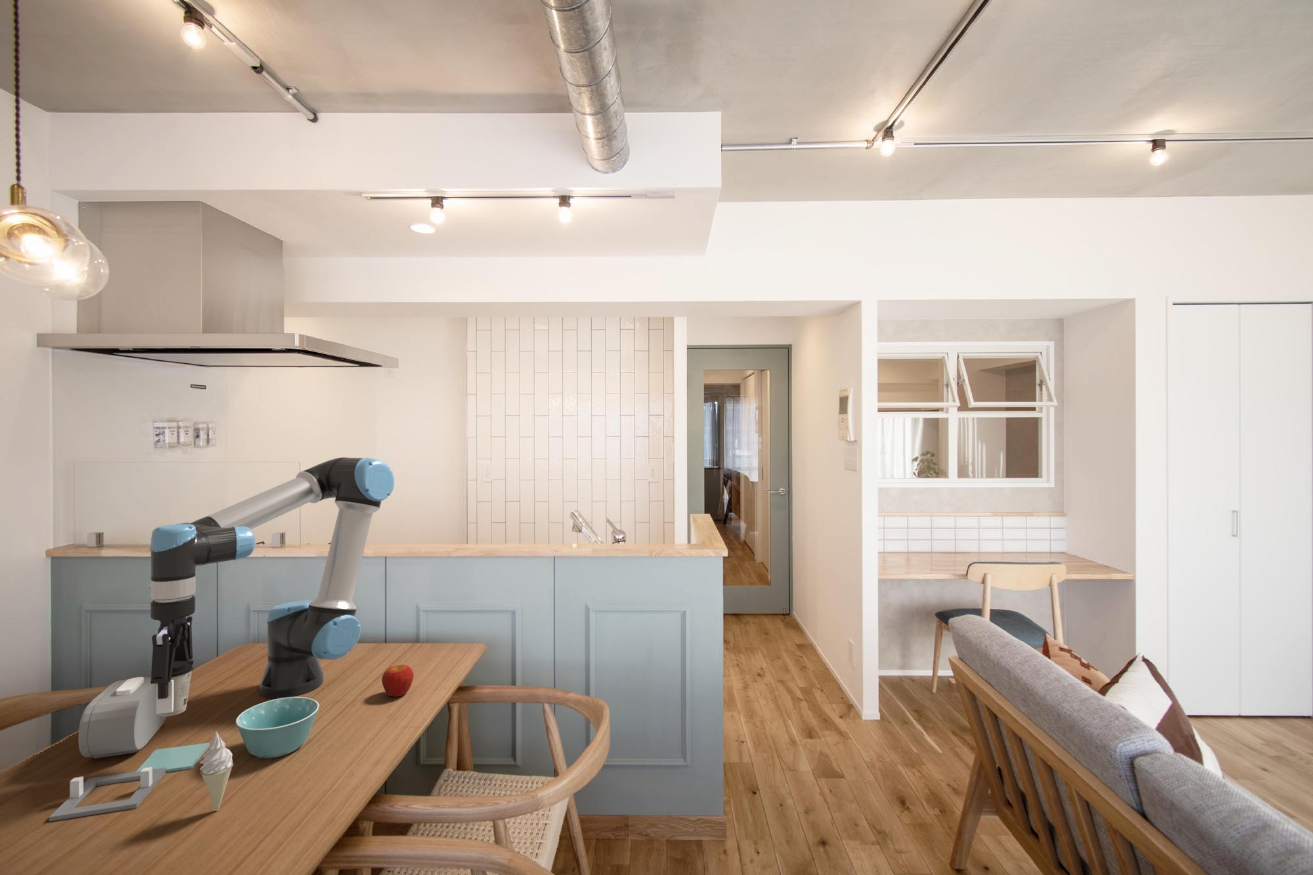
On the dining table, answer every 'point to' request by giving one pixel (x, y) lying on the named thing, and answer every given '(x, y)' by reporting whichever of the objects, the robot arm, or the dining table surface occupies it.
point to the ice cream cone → (216, 769)
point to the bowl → (277, 725)
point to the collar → (81, 790)
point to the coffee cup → (180, 686)
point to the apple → (397, 680)
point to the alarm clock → (120, 719)
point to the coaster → (175, 757)
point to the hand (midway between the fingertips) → (172, 704)
